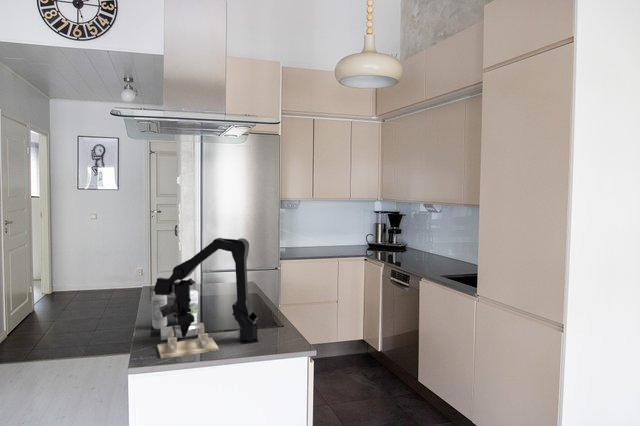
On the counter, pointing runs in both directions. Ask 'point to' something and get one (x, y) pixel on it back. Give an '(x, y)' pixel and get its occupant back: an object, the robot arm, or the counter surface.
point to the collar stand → (187, 345)
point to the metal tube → (177, 331)
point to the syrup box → (194, 305)
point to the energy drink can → (158, 311)
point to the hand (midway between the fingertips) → (182, 334)
